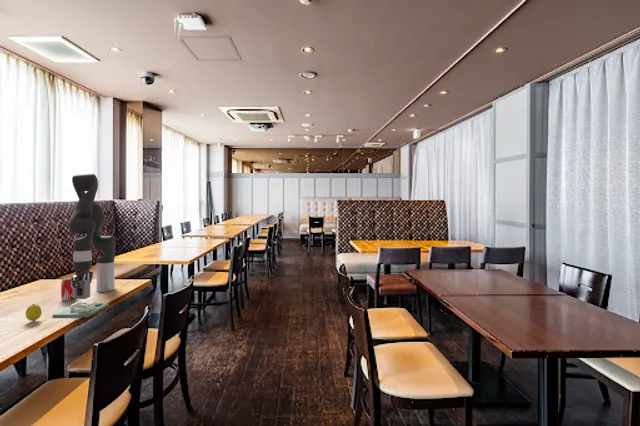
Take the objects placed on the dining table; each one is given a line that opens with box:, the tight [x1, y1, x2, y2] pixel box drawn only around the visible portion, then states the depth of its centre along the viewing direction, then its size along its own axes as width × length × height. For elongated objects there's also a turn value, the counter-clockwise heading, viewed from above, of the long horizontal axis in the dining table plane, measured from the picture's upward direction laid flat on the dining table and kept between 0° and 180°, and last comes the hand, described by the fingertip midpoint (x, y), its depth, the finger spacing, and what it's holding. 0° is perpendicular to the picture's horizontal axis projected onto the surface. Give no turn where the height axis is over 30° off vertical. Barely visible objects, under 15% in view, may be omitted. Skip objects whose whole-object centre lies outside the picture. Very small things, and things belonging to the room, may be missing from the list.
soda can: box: [60, 276, 76, 302], centre depth 191 cm, size 7×7×12 cm
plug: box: [74, 279, 91, 300], centre depth 171 cm, size 4×5×9 cm
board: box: [52, 300, 110, 318], centre depth 172 cm, size 18×16×4 cm
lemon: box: [25, 303, 43, 322], centre depth 156 cm, size 6×6×8 cm
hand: (82, 294), depth 171 cm, fingers closed on plug, 4 cm apart
